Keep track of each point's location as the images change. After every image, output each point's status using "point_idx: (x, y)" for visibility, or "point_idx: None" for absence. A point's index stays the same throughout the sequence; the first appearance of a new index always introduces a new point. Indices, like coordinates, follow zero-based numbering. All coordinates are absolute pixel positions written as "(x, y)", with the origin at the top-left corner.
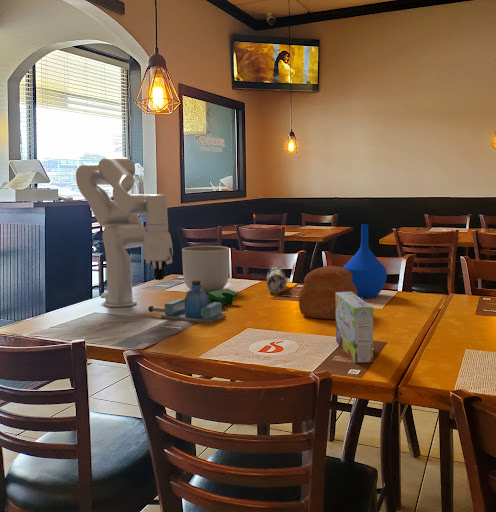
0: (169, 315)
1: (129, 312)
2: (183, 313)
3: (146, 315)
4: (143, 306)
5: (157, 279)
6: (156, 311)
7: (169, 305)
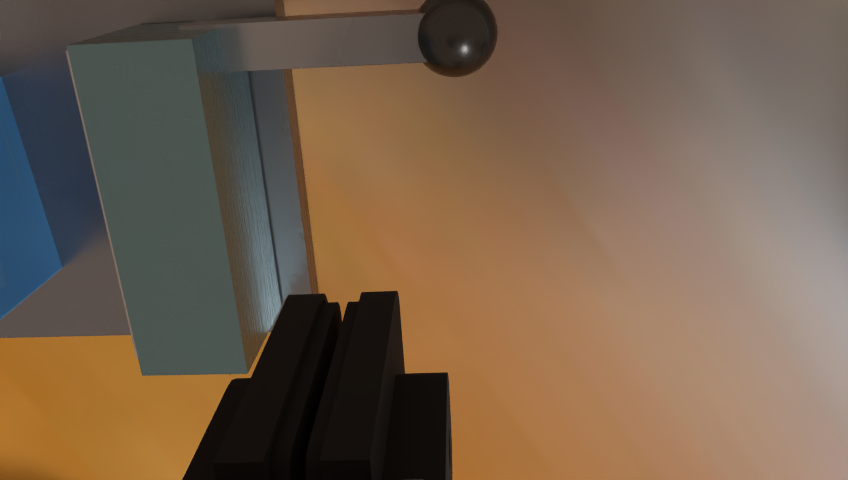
0: (173, 17)
1: (841, 83)
2: None
3: (538, 29)
4: (828, 398)
5: (351, 307)
6: (358, 13)
7: (120, 40)
